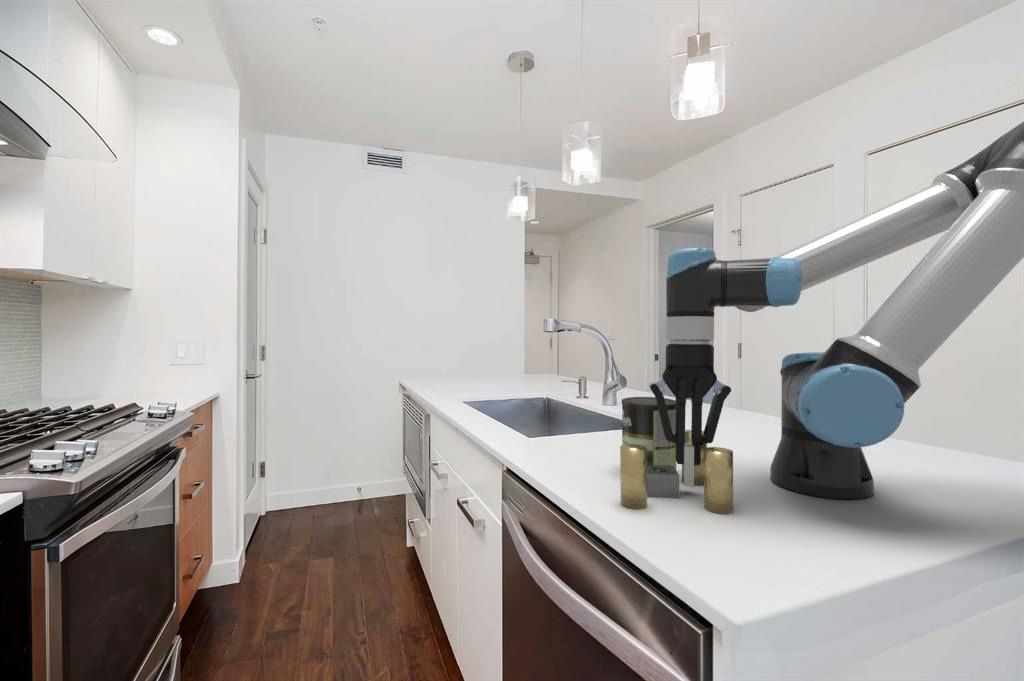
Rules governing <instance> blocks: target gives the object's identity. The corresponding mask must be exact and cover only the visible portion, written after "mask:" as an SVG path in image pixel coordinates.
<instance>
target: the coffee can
mask: <svg viewBox="0 0 1024 681" xmlns="http://www.w3.org/2000/svg"><path fill="white" fill-rule="evenodd" d="M664 399H665V403H666V408H667V412H668V416H669V420H670V424H671V429H672V433H674V434H675V425H676V399H671V398H665V397H664ZM621 404H622V405H621V408H622V412H621V413H622V414H621V416H622V417H621V418H622V424H621V425H622V427H621V430H622V433H621V434H622V437H621V439H622V444H621V445H625V444H637V445H642V446H645V447H646V448H647V465H671V466H674V468H675V469H676V470H677V462H676V459H675V456H676V455H675V453H676V444H675V443H674V442H671V441H668V440H667V439H666V437H665V435H664V431H663V427H662V423H661V419H660V414H659V410H658V406H657V402H656V397H655V396H633V397H624V398H622V399H621Z"/></svg>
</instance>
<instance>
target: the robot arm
mask: <svg viewBox="0 0 1024 681" xmlns="http://www.w3.org/2000/svg"><path fill="white" fill-rule="evenodd" d="M943 232H944V234H943V235H941V237H940V238H939V239H938V241H936V243H935V244H934V245H933V246H932V247H931V248H930V250H929V251H928V252H927V253H926V254H925V255H924V256H923V257H922V258H921V260H920V261H919V262H918V263H917V264H916V265H915V266H914V268H913V269H912V270H911V271H910V272H909V273H908V275H907V276H906V277H905V278H904V279H903V280H902V281H901V282H900V284H899V285H898V286H897V287H896V288H895V289H894V291H892V293H891V294H890V295H889V296H888V297H887V299H885V300H884V302H883V303H882V304H881V305H880V307H879V308H878V309H877V310H876V311H875V312H874V313H873V314H872V315H871V316H870V318H869V319H868V320H867V321H866V322H865V323H864V325H863V326H862V327H861V328H860V329H859V330H858V332H857V333H856V334H853V335H850V336H849V335H848V336H843V337H837V338H836V339H835V340H834V342H833V343H832V344H831V345H830V346H829V347H828V348H827V349H826V350H825V351H824V352H822V351H821V352H820V351H818V352H817V351H816V352H815V351H814V352H813V351H812V352H802V353H798V352H797V353H791V354H787V355H785V356H784V357H783V358H782V360H781V368H780V371H779V373H780V376H781V413H780V415H781V418H780V419H781V436H780V441H779V443H778V446H777V448H776V451H775V454H774V457H773V459H772V462H771V463H770V467H769V468H770V472H769V473H770V476H769V477H770V480H771V481H772V483H774V484H775V485H777V486H778V487H781V488H784V489H786V490H789V491H792V492H797V493H801V494H805V495H809V496H815V497H819V498H820V497H821V498H826V499H827V498H828V499H838V500H861V499H866V498H870V497H872V496H873V495H874V492H875V489H874V488H875V487H874V486H875V482H874V481H875V480H874V477H873V475H872V472H871V470H870V467H869V464H868V462H867V459H866V456H865V454H864V451H863V448H865V447H871V446H874V445H877V444H878V443H881V442H883V441H885V440H887V439H888V438H889V437H890V436H892V435H893V434H895V432H896V431H897V430H898V428H899V427H900V426H901V423H902V421H903V418H904V415H905V404H906V403H907V402H908V401H909V400H910V398H912V396H913V395H914V394H916V392H917V391H918V390H919V389H920V388H921V386H922V384H921V377H920V375H919V370H920V369H921V367H922V366H923V365H924V364H926V362H927V361H928V360H929V359H930V358H931V357H932V355H934V354H935V352H937V351H938V349H940V347H941V346H942V345H943V344H945V342H946V341H947V340H948V339H949V338H950V337H951V335H953V333H955V332H956V330H957V329H958V328H959V327H960V326H961V325H962V324H963V323H964V321H965V320H967V318H968V317H970V315H971V314H972V313H973V312H974V311H975V310H976V309H977V308H978V307H979V306H980V305H981V303H983V301H984V300H985V299H986V298H987V297H988V296H989V295H990V294H991V293H992V292H993V291H994V289H996V288H997V287H998V285H1000V284H1001V282H1002V281H1003V280H1004V279H1006V277H1007V276H1008V275H1009V274H1010V273H1011V272H1012V271H1013V269H1014V268H1015V267H1016V266H1018V264H1020V262H1021V261H1022V260H1023V259H1024V121H1022V122H1021V123H1019V124H1018V125H1016V126H1014V127H1013V128H1012V129H1010V130H1009V131H1008V132H1006V133H1004V134H1003V135H1001V136H1000V137H998V138H997V139H996V140H994V141H993V142H991V143H990V144H989V145H988V146H986V147H985V148H983V149H982V150H981V151H979V152H977V153H976V154H975V155H974V156H972V157H971V158H968V159H967V160H965V161H964V162H962V163H960V164H959V165H957V166H955V167H953V168H951V169H949V170H947V171H945V172H943V173H940V174H939V175H936V177H934V178H933V181H932V182H931V184H930V185H929V186H927V187H925V188H923V189H920V190H918V191H915V192H914V193H912V194H910V195H908V196H906V197H903V198H901V199H898V200H897V201H894V202H892V203H890V204H888V205H885V206H883V207H881V208H879V209H877V210H875V211H872V212H870V213H868V214H865V215H863V216H862V217H859V218H857V219H855V220H853V221H850V222H849V223H846V224H844V225H842V226H840V227H837V228H835V229H833V230H831V231H829V232H826V233H825V234H822V235H820V236H817V237H815V238H814V239H811V240H809V241H807V242H805V243H802V244H800V245H798V246H795V247H794V248H791V249H789V250H788V251H785V252H783V253H780V254H779V255H776V256H773V257H766V258H750V259H736V260H733V259H731V260H721V259H717V256H716V252H715V250H714V249H712V248H709V247H686V248H681V249H676V250H674V251H672V252H671V253H670V254H669V255H668V258H667V267H666V268H667V269H666V277H665V281H666V284H665V285H666V287H665V288H666V289H665V290H666V293H665V294H666V298H665V299H666V303H665V304H666V315H665V316H666V320H665V321H666V325H665V326H666V328H665V329H666V330H665V333H666V334H665V338H666V339H665V340H666V341H669V343H668V344H666V346H665V368H664V371H663V373H662V375H661V376H662V377H661V378H660V379H658V380H656V381H655V382H651V383H649V386H648V387H649V389H650V391H651V392H652V393H653V395H654V397H656V402H657V406H658V410H659V414H660V419H661V423H662V427H663V431H664V435H665V437H666V439H667V440H668V441H671V442H674V443H675V444H676V453H675V455H676V456H675V459H676V464H677V465H681V483H682V484H683V486H684V487H694V486H695V485H694V465H700V463H701V447H702V445H703V444H706V443H707V444H712V443H713V442H714V439H715V436H716V432H717V428H718V424H719V422H720V418H721V414H722V410H723V406H724V403H725V401H726V399H727V398H728V396H729V395H730V393H731V392H732V388H731V387H730V386H729V385H726V384H724V383H723V382H721V381H720V380H718V376H717V374H716V372H715V368H714V367H715V366H714V365H715V363H714V362H715V346H713V345H714V344H711V342H713V341H714V340H715V307H716V308H717V307H720V308H722V307H723V308H725V307H735V308H737V310H741V311H744V312H748V313H754V312H757V311H761V310H762V309H765V308H766V307H772V308H779V307H786V306H793V305H796V304H798V302H799V301H800V299H801V298H800V297H801V294H802V293H801V292H803V291H805V290H808V289H810V288H812V287H814V286H817V285H819V284H822V283H824V282H826V281H829V280H831V279H835V278H836V277H838V276H841V275H843V274H846V273H848V272H851V271H852V270H855V269H857V268H860V267H862V266H865V265H867V264H869V263H871V262H875V261H876V260H879V259H882V258H883V257H887V256H889V255H892V254H893V253H895V252H898V251H900V250H903V249H905V248H907V247H910V246H913V245H915V244H917V243H919V242H922V241H925V240H927V239H929V238H932V237H934V236H937V235H938V234H941V233H943ZM665 385H666V386H667V388H668V389H669V390H670V392H671V393H672V394H673V395H674V396H675V401H676V425H675V434H674V433H672V429H671V424H670V420H669V416H668V412H667V408H666V403H665V399H664V398H665V397H664V393H665V391H666V389H665ZM712 388H713V391H712V392H713V394H714V395H713V397H712V401H711V404H710V407H709V411H708V415H707V418H706V423H705V426H704V429H703V424H702V423H703V404H704V402H703V399H704V397H705V396H706V395H707V394H708V393H709V391H710V390H711V389H712ZM687 399H691V400H690V402H691V429H690V430H691V440H692V444H691V443H685V430H686V409H687V408H686V405H687ZM702 431H704V433H703V435H702Z"/></svg>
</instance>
